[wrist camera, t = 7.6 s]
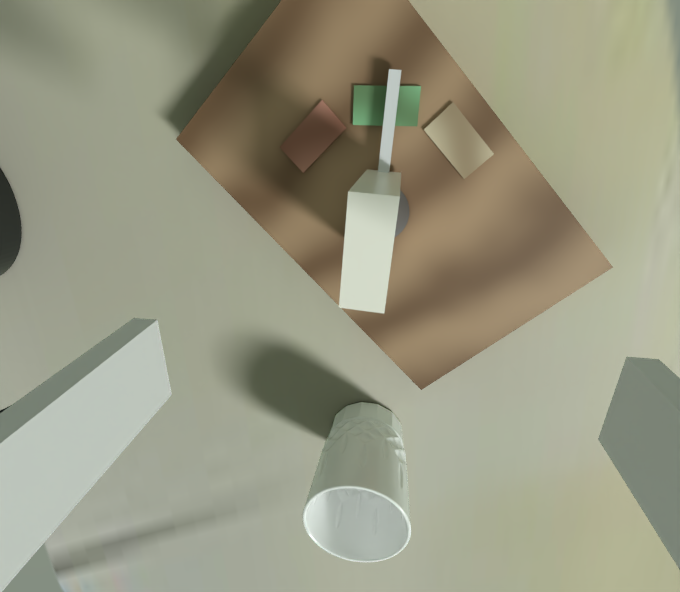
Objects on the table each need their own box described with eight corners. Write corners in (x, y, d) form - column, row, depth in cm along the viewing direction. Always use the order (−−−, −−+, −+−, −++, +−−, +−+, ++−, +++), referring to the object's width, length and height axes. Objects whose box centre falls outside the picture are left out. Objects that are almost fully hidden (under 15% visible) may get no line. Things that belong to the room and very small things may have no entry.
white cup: (319, 398, 37) (292, 486, 28) (404, 393, 35) (404, 485, 26) (334, 462, 40) (313, 561, 31) (413, 460, 38) (416, 564, 29)
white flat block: (358, 251, 28) (338, 307, 19) (376, 70, 23) (360, 36, 15) (390, 254, 27) (384, 313, 19) (414, 72, 23) (421, 40, 14)
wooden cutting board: (193, 138, 29) (174, 139, 27) (350, -63, 23) (343, -85, 21) (420, 372, 34) (421, 391, 32) (596, 255, 28) (614, 268, 26)
